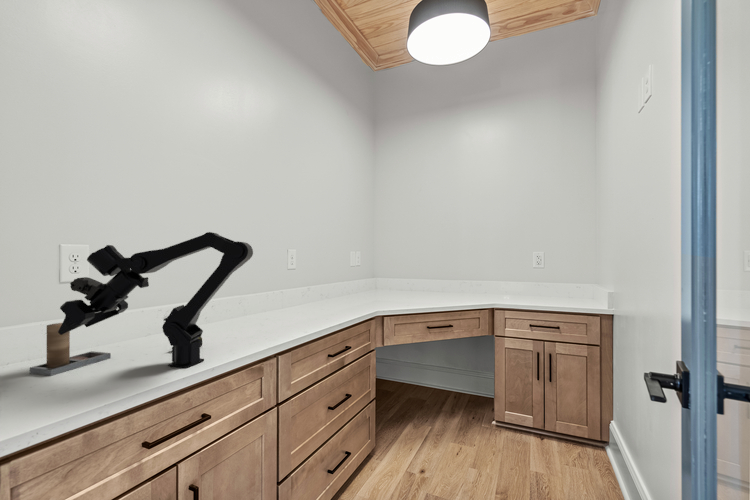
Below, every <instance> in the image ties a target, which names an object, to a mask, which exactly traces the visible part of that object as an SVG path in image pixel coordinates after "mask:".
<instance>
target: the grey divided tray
mask: <svg viewBox="0 0 750 500" xmlns="http://www.w3.org/2000/svg"><path fill="white" fill-rule="evenodd" d="M111 357H112V355H111V352H103V351H92V350H91V351H87V352H84V353H80V354H76V355H73V356H70V364H67V365H64V366H60V367H57V368H47V362H46V363H43V364H39V365H35V366H31V367H29V374H31V375H41V376H46V377H47V376H48V377H52V376H55V375H58V374H62V373H65V372H69V371H72V370H75V369H79V368H81V367H86V366H88V365H89V366H90V365H93V364H95V363H96V364H97V363H99V362H101V361H103V362H104V361H105V360H106V361H107V360H108V359H111Z"/></svg>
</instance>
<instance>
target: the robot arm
mask: <svg viewBox="0 0 750 500" xmlns="http://www.w3.org/2000/svg"><path fill="white" fill-rule="evenodd" d="M210 248H212V249H213V250H216V251H218V252H220V253H222V254H223V255H222V256H221V259H220V262H219V264H218V266H217V267H216V268H215V270H214V271H213V272H212V273H211V274H210V275H209V277H208V278H207V280H206V281H205V282H204V283H203V284H202V285H201V287H200V288H198V290H197V291H196V292H195V294H194V295H193V296H192V297H191V298H190V300H189V301H188V302H187V304H185V305H184V304H182V305H179V306H176V307H173V308H172V310H171V311H170V313H169V315H168V316H167V317H165V318H163V321H164V323H163V325H162V327H161V329H162V332H163V334H164V336H165V337H167V339H168V341H169V344H170V346H172V347H171V361H172V362H169V363H168V364H167V365H168V367H175V368H185V369H186V368H189V367H192V366H194V365H197V364H199V363H202V362H204V361H205V358H201V347H200V340H198V338H200V337H202V335H203V332H204V330H203V329H202V328H201V327H200V326H199V325H197V322H198V320H199V317H200V314H201V312H202V310H203V309H204V308H205V307H206V306H207V304H208V303H209V302H210V301H211V300H212V298H213V297H214V296H215V294H217V292H218V291H219V290H220V289H221V288H222V286H224V284H225V282H226V281H227V280H228V279H229V277H230V276H232V274H233V273H235V272H236V271H237V270H238V269H239V268H242V266H243V265H245V264H246V263H247V262H248V261H249V260H250V259H251V258H252V257H253V255H254V250H253V248H252V245H251V244H249V243H248V242H244V241H235V240H232V239H230V238H227V237H224V236H222V235H220V234H219V233H217V232H211V231H208V232H205V233H204V234H202V235H199V236H197V237H194V238H190V239H187V240H185V241H182V242H179V243H176V244H172V245H170V246H168V247H167V246H166V247H165V248H159V249H153V250H146V251H141V252H136V253H134V254H131V256H130V257H124V256H123V254H122V253H120V252H119V251H118V249H117V248H116V247H115V246H114V245H110V244H106V246H104V247H103V248H99V249H97V250H96V251H94V252H91V253H90V254H89V256H88V257H87V259H86V261H87V262H88V263H89V264H90V265H91V266H92V267H93V268H94V269H96V270H97V272H99V273H100V274H101V275H102V276H103V277H106V276H109V277H111V278H110V279H109V281H108V282H106V283H103V282H100V281H99V280H96V279H94V278H91V277H87V276H85V277H84V276H83V277H77V278H74V279H73V281H71V282H70V283H69V284H70V290H71V291H73V292H77V293H80V294H83V295H85V296H84V299H85V300H86V301H89V304H87V303H86V302H85V301H84V300H83V299H73V300H68V301H65V302H64V303H63V304H62V305H60V307H59V310H61V311H62V313H64V315H65V317H64V319H63V321H62V322H61V323H62V325H61V327H60V329H59V331H58V333H59V334H60V335H62V334H65V333H67V332H69V331H70V332H71V331H73V330H76V329H78V328H79V327H80V328H81V327H82V326H85V327H86V328H89V327H91V326H93V325H96V324H98V323H100V322H103V321H105V320H108V319H110V318H113V317H115V316H117V315H119V314H122V313H124V312H125V311H126V310H127V309H128V308H129V303H128V302H127V301H126V300H127V299H128V298H129V296H128V295H129V294H130V293H132V291H134V290H135V288H136V287H139V288H140V289H142V288H143V289H144V288H147V287H149V284H150V283H149V277H143V276H142V275H144V274H152V273H155V272H158V271H160V270H161V269H163V268H166V267H167V266H168V265H170V264H171V263H172V262H174V261H177V260H179V259H182V258H185V257H187V256H191V255H193V254H197V253H199V252H202V251H204V250H207V249H210Z"/></svg>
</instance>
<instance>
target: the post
mask: <svg viewBox="0 0 750 500" xmlns="http://www.w3.org/2000/svg"><path fill="white" fill-rule="evenodd" d="M62 323H63V322H59V323H58V322H57V323H52V324H48V325H46V363H47V368H57V367H60V366H64V365H67V364H70V357H71V356H70V354H71V352H70V351H71V349H70V348H71V347H70V346H71V345H70V343H71V342H70V339H71V338H70V334H71V333H70V332H71V331H69V332H67V333H65V334H62V335H60V334H59V333H58V331H59V329H60V327H61V325H62Z"/></svg>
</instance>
